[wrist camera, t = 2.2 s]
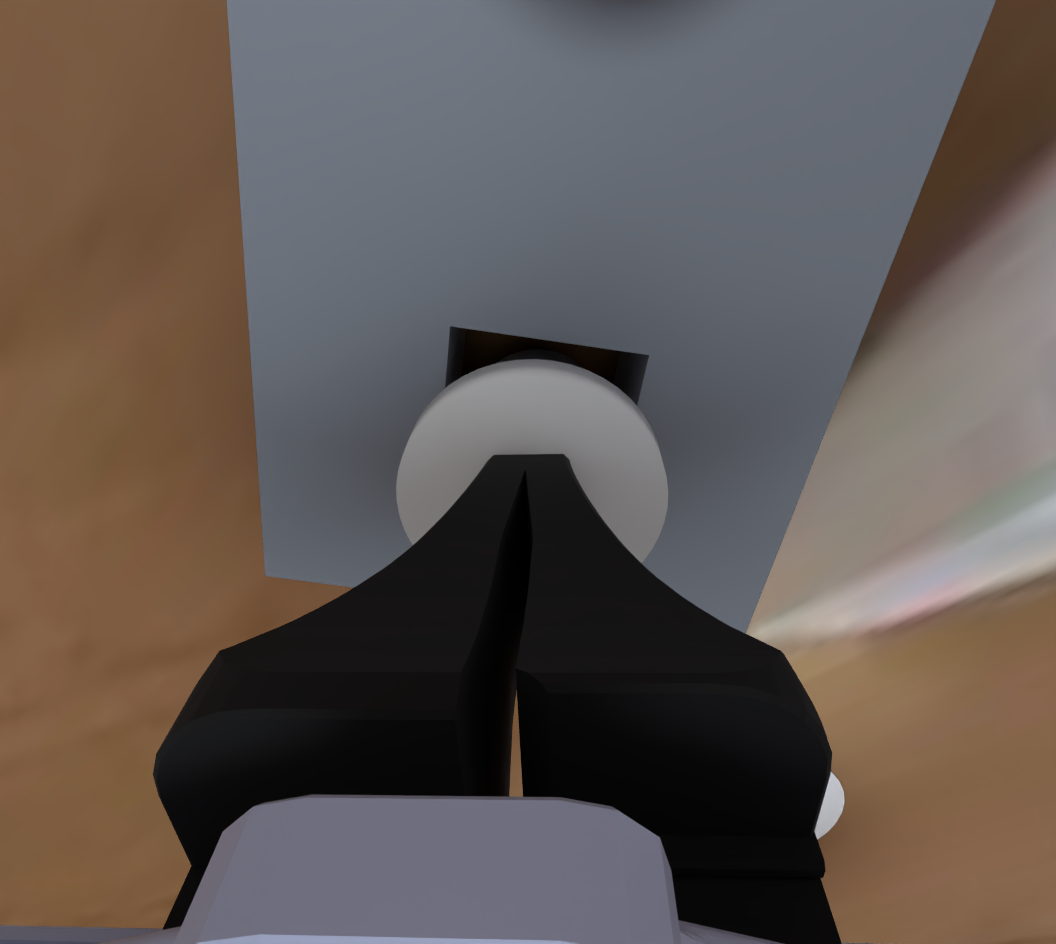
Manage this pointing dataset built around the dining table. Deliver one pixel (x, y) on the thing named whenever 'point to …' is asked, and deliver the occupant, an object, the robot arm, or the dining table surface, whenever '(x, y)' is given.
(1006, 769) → the dining table surface
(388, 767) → the robot arm
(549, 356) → the grey plunger
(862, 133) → the panel
